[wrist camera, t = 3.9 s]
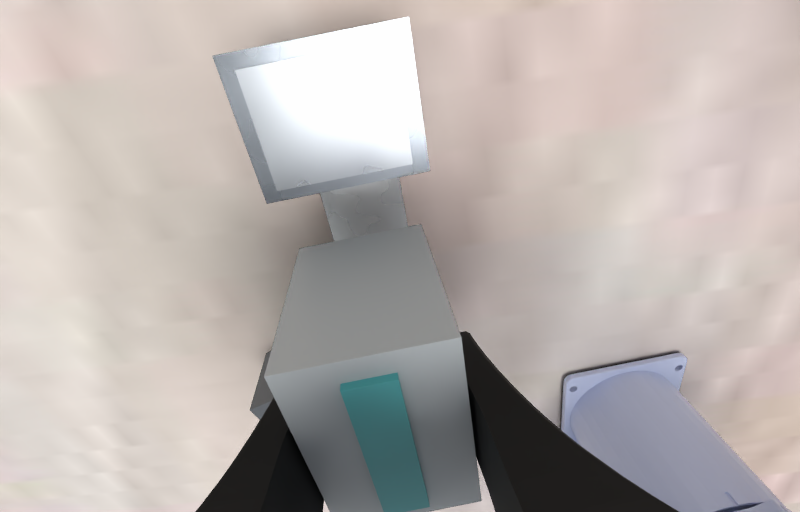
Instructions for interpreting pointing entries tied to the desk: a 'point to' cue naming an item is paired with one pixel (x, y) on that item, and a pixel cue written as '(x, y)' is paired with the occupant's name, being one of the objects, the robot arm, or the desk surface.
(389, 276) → the grey module
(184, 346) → the desk surface
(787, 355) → the desk surface
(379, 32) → the rail
